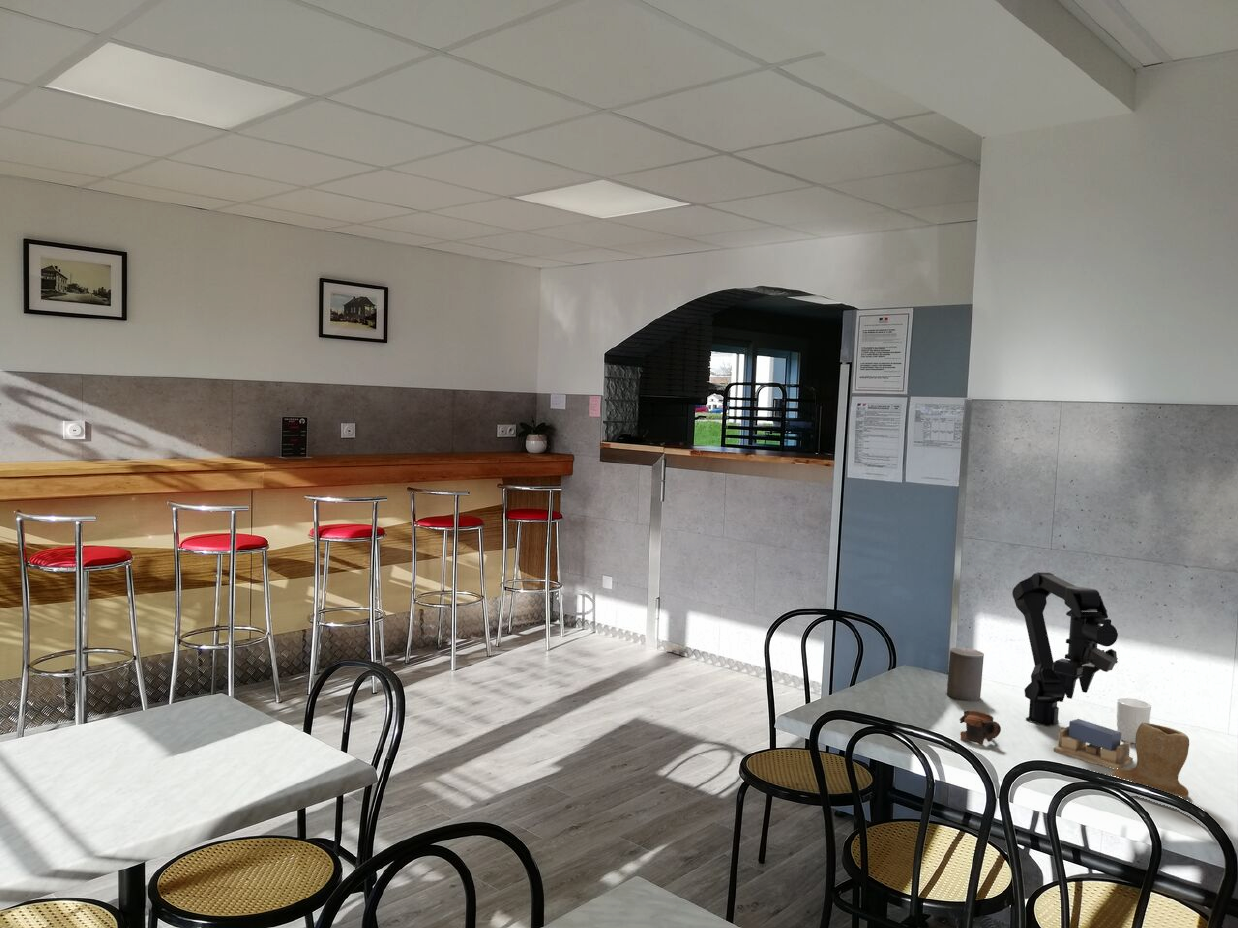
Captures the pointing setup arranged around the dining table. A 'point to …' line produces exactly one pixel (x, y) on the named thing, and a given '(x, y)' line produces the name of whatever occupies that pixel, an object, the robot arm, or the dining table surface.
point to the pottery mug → (979, 727)
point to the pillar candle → (965, 674)
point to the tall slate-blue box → (1094, 734)
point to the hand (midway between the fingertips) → (1077, 695)
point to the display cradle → (1093, 751)
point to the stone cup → (1158, 759)
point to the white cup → (1131, 717)
